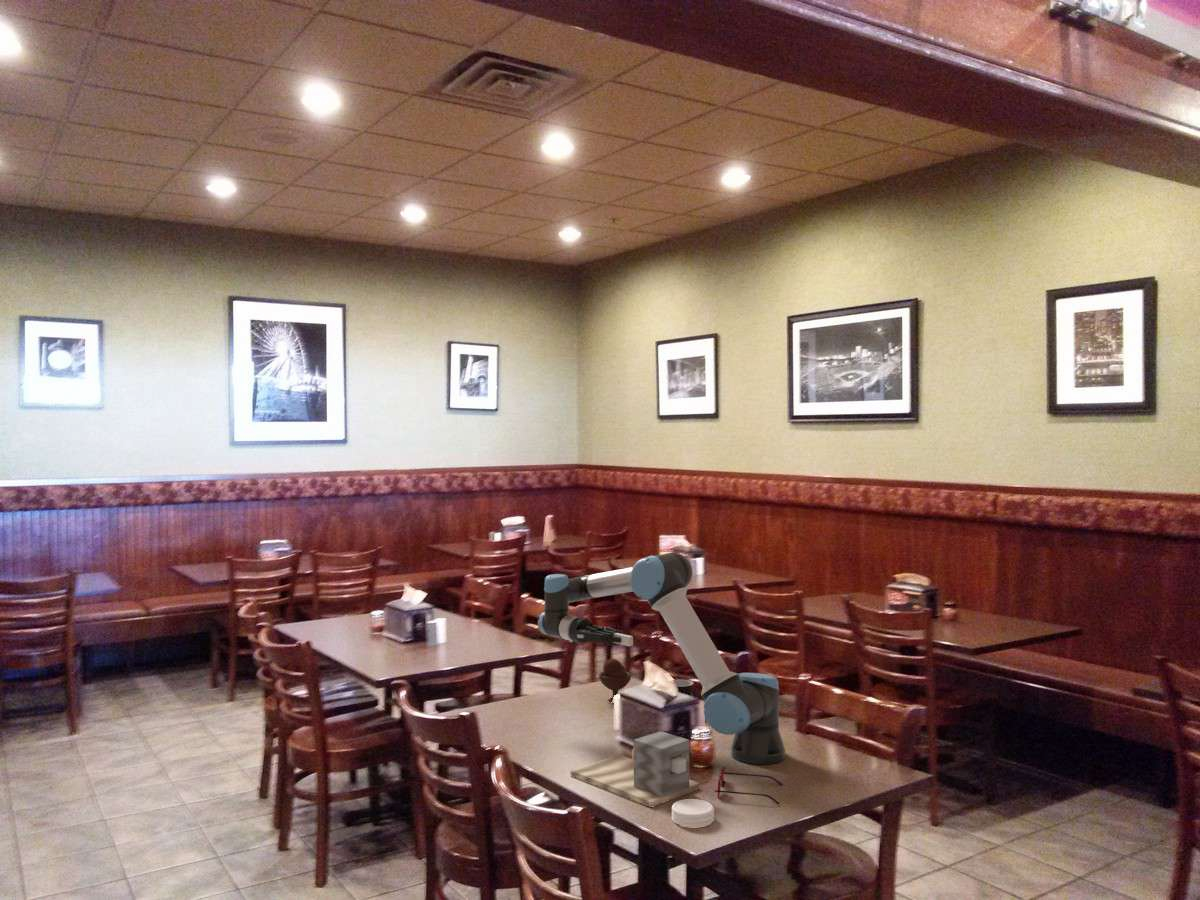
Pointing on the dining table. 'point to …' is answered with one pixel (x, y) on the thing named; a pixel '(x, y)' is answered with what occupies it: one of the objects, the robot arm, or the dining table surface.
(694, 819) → the white jar lid
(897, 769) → the dining table surface
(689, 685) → the coffee mug
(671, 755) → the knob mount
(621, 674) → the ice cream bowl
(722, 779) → the glasses
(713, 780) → the dining table surface
